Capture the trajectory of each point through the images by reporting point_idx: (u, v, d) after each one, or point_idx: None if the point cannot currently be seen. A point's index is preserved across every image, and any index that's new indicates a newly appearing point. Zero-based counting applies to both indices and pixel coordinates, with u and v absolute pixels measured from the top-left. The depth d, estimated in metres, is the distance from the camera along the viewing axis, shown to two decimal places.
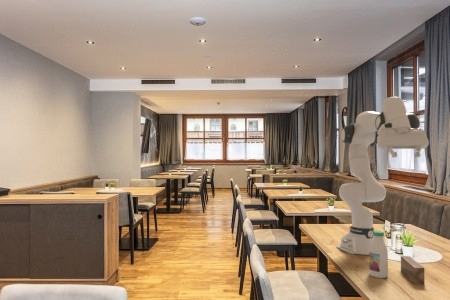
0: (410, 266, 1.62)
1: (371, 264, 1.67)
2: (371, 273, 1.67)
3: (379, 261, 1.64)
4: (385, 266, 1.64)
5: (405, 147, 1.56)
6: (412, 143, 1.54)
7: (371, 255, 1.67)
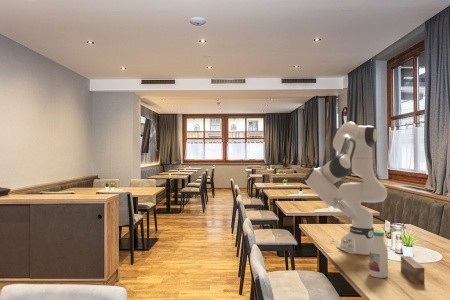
0: (410, 266, 1.62)
1: (371, 264, 1.67)
2: (371, 273, 1.67)
3: (379, 261, 1.64)
4: (385, 266, 1.64)
5: None
6: None
7: (371, 255, 1.67)
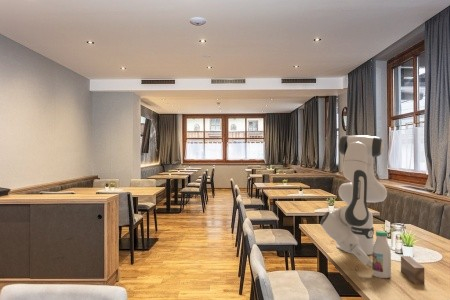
0: (410, 266, 1.62)
1: (374, 264, 1.66)
2: (374, 273, 1.66)
3: (382, 261, 1.64)
4: (388, 266, 1.64)
5: None
6: None
7: (374, 255, 1.66)
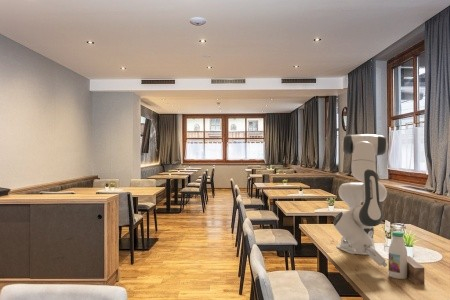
0: (410, 266, 1.62)
1: (391, 264, 1.65)
2: (391, 274, 1.65)
3: (399, 262, 1.63)
4: (405, 267, 1.63)
5: None
6: None
7: (391, 256, 1.65)
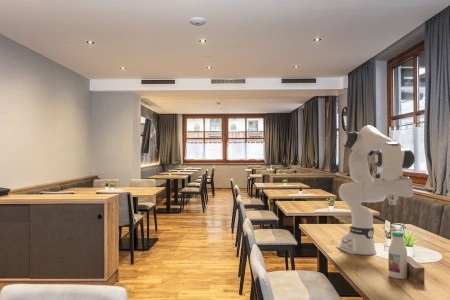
0: (410, 266, 1.62)
1: (391, 264, 1.65)
2: (391, 274, 1.65)
3: (399, 262, 1.63)
4: (405, 267, 1.63)
5: None
6: (395, 194, 1.73)
7: (391, 256, 1.65)
